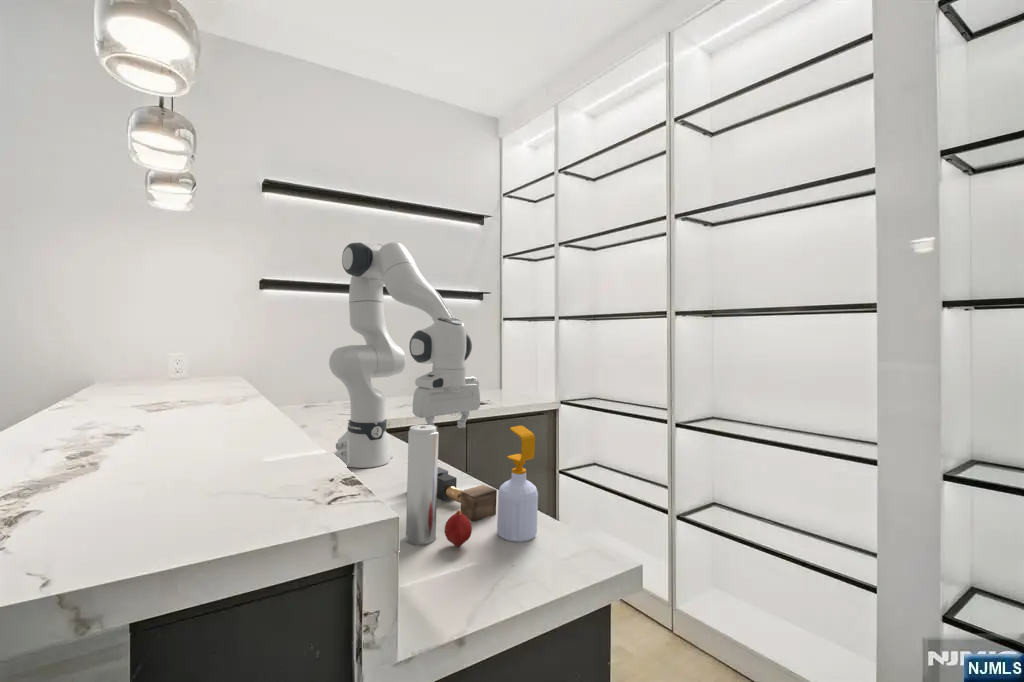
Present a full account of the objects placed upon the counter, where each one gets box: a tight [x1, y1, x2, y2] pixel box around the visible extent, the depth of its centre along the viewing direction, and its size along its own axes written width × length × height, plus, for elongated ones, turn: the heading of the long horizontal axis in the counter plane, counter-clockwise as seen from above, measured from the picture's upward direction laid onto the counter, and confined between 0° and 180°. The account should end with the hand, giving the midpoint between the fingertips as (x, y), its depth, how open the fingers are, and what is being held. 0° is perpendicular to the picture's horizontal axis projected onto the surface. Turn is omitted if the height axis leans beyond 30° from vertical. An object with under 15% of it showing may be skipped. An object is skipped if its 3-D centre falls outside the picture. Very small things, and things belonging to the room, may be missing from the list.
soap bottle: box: [496, 425, 539, 543], centre depth 109 cm, size 9×9×25 cm
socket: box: [460, 484, 498, 523], centre depth 119 cm, size 5×7×6 cm
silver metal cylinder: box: [405, 424, 440, 546], centre depth 105 cm, size 6×6×25 cm
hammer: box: [437, 473, 463, 504], centre depth 130 cm, size 17×4×6 cm, turn 45°
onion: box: [444, 509, 473, 548], centre depth 103 cm, size 6×6×8 cm
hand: (447, 430), depth 128 cm, fingers open, 8 cm apart
